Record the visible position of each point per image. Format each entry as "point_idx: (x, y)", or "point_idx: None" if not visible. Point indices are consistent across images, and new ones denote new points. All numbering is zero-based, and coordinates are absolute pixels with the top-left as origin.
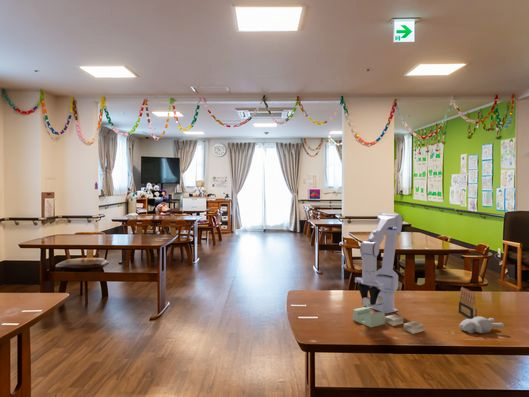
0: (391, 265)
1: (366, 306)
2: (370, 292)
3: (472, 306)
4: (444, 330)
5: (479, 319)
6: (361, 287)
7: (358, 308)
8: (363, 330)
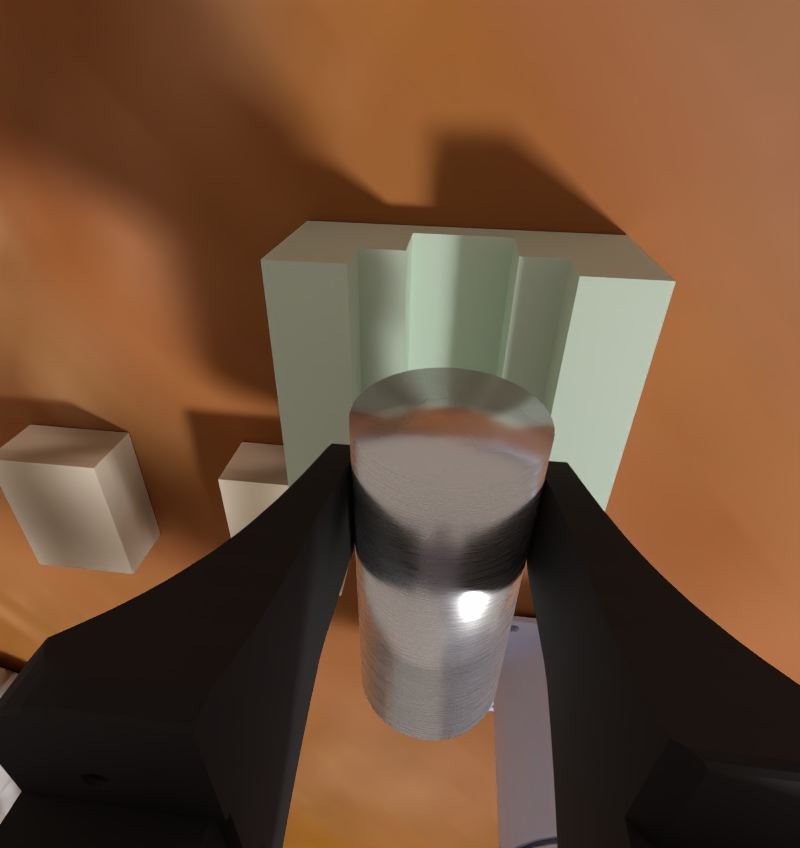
0: None
1: (411, 378)
2: (209, 610)
3: None
4: (52, 614)
5: None
6: (644, 736)
7: (633, 388)
8: (269, 36)
